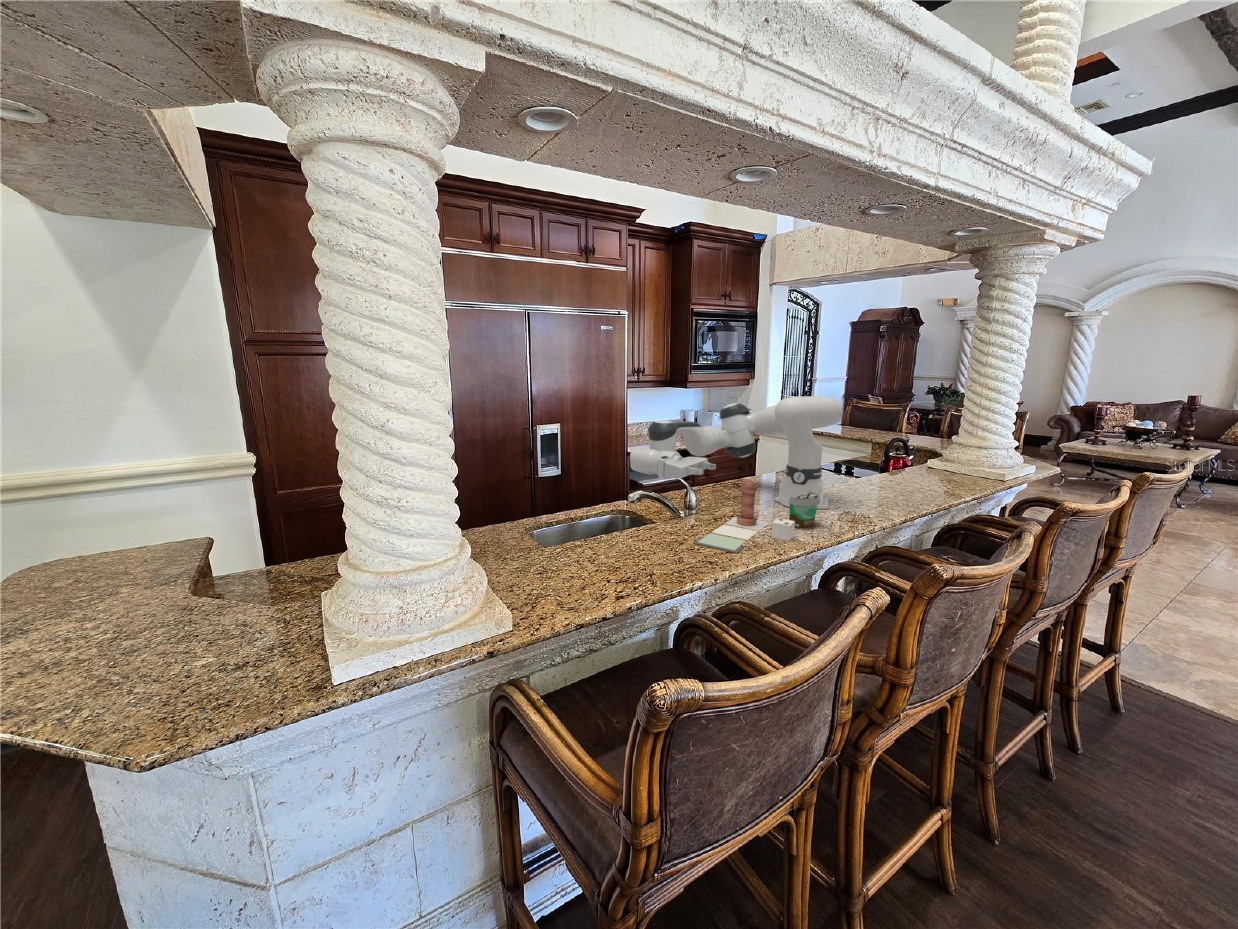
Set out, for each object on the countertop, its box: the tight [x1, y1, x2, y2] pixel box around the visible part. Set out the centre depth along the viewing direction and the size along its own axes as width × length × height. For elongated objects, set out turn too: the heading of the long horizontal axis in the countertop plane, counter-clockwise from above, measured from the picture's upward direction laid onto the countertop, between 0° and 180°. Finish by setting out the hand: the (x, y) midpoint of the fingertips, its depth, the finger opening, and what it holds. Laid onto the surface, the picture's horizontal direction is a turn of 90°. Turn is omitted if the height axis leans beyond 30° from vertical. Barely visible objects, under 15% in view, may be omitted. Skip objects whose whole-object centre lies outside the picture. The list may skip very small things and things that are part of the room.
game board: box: [692, 516, 769, 554], centre depth 149 cm, size 31×13×1 cm, turn 146°
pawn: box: [736, 479, 758, 526], centre depth 156 cm, size 6×6×14 cm
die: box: [770, 517, 795, 542], centre depth 145 cm, size 5×5×5 cm
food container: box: [788, 491, 820, 529], centre depth 155 cm, size 12×6×10 cm, turn 131°
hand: (709, 469), depth 161 cm, fingers open, 8 cm apart
